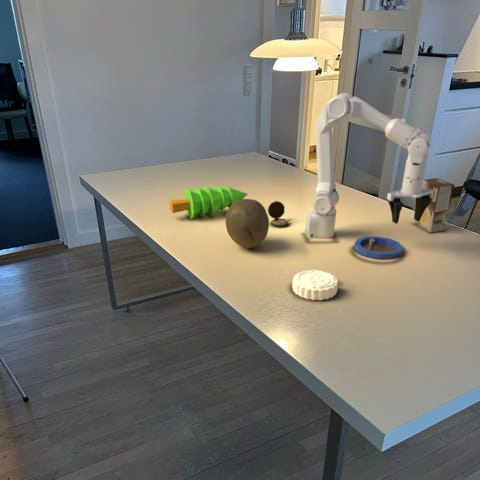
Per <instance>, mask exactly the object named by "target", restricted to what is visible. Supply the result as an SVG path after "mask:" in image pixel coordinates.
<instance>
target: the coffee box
mask: <svg viewBox="0 0 480 480" xmlns="http://www.w3.org/2000/svg"><path fill="white" fill-rule="evenodd" d="M422 189H432V190H434V194H433V197H430V198H431V199H432V201H431V203H430V204H429V205H428V207H427V208H426V209H425V211H424V213H423V215H422V217H421V219H420V221H417V220H415V219H414V220H415V221H414V223H416V224H419V225H420V226H422V227H423V229H425V231H426V232H429V233H436V232H442V231H443V232H444V231H445V229H446V224H447V221H448V216H449V212H450V208H451V203H452V198H453V194H454V190H455V184H454V183H451V182H449V181H446V180H443V179H441V178H438V177H436V178H428V179H424V180H423V186H422Z"/></svg>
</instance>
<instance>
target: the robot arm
mask: <svg viewBox="0 0 480 480" xmlns="http://www.w3.org/2000/svg"><path fill="white" fill-rule="evenodd" d="M347 116H348V119H352V118H362V119H363V120H365V121H367V122H368V123H370V124H372V125H374V126H376V127H377V128H379V129H381V130H383V131H384V135H385V138H387V139H388V140H390V141H391V142H393V143H395V144H396V145H398V146H400V147H401V148H404V149H407V152H408V155H407V159H406V160H405V165H404V166H405V167H404V172H403V178H402V184H401V189H399V190H396V191H392V192H387V194H386V195H387V196H386V200H387V203H388V205H389V208H390V212H391V221H392V223H394V224H399V222H400V221H399V220H400V216H401V211H402V209H403V206H404V203H403V202H402V201H401V200H405V199H406V200H407V199H415V209H414V215H413V219H414V220H417V221H420V219H421V217H422V215H423V213H424V211H425V209H426V208H427V207H428V205H429V204H430V203H431V201H432V199H431V198H430V197H433V194H434V190H432V189H422V186H423V180H425V174H426V169H427V164H428V161H427V160H428V157H429V152H430V149H431V147H430V146H431V144H432V141H431V140H432V139H431V137H430V136H429V134H428V133H427V132H426V131H421V129H419V127H418V128H415V127H413V126H411V125H410V124H408V123H407V119H405V118H401V119H400V118H399V117H397V118H393V119H391V118H390V117H388V116H386V115H385V114H384V113H382V112H381V111H379V110H377V109H376V108H375V107H374V106H371V105H370V104H369V103H367V102H366V101H364V100H363V99H361V98H360V97H358V96H355V95H354V96H353V95H352V94H351V93H349V92H341V93H339V94H338V95H335V96H333V97H331V98H330V99H329V100H328V101H327V102H326V103H325V104H324V106H323V108H322V110H321V113H320V114H319V116H318V118H317V119H316V122H315V125H314V127H315V146H316V147H315V148H316V149H315V150H316V151H315V152H316V174H317V184H316V189H315V197H314V200H313V203H312V205H313V206H312V207H313V211H307V212H306V216H305V227H304V233H305V235H306V237H307V239H326V240H327V239H331V238H333V237H334V236H335V227H336V219H337V209H336V205H337V204H338V203H339V199H340V196H339V193H338V191H337V185H336V183H335V177H334V176H335V173H334V171H335V169H334V137H333V134H334V132H333V130H334V127H335V126H337V124H339V122H340V121H341V120H342V119H344V118H345V117H347Z"/></svg>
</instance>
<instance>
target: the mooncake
mask: <svg viewBox="0 0 480 480" xmlns="http://www.w3.org/2000/svg"><path fill="white" fill-rule="evenodd" d="M291 285H292V291H293V292H294V294H295V295H297V296H299V297H300V298H304V299H306V300H311V301H323V300H329V299H331V298H334V296H336V295H337V292H338V287H339V281H338V278H337V277H336V276H335V275H334V274H331V273H329V272H325V271H323V270H320V269H310V270H303V271H300V272H297V274H295V275H294V276H293V278H292V284H291Z"/></svg>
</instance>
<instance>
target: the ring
mask: <svg viewBox="0 0 480 480" xmlns="http://www.w3.org/2000/svg"><path fill="white" fill-rule="evenodd" d="M370 239H374V240H375V243H382V244H387V245H389V246H391V247H393V248H394V249H395V250H393V251H390V252H376V251H370V250H368V249H365V248H363V247H362V246H361V245H362V244H366V243H369V241H370ZM353 246H354V249H355V250H356V252H357V253H359V254H361V255H364V256H366V257H365V258H367V257H370V258H369V259H371V258H376V259H375V260H378V259H390V260H393V259H392V258H395V257H398V256H400V254H401V252H402V251H403V248H404V246H403V245H402V244H401V243H400V242H399V241H397V240H394V239H392V238H389V237H384V236H378V235H375V236H373V235H371V236H368V235H367V236H363V237H359V238H357V239H356V241H354V243H353ZM356 252H355V253H356ZM357 253H356V254H357ZM359 254H358V255H359ZM361 255H360V256H361ZM364 256H363V257H364ZM400 257H401V256H400ZM398 258H399V257H398Z"/></svg>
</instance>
